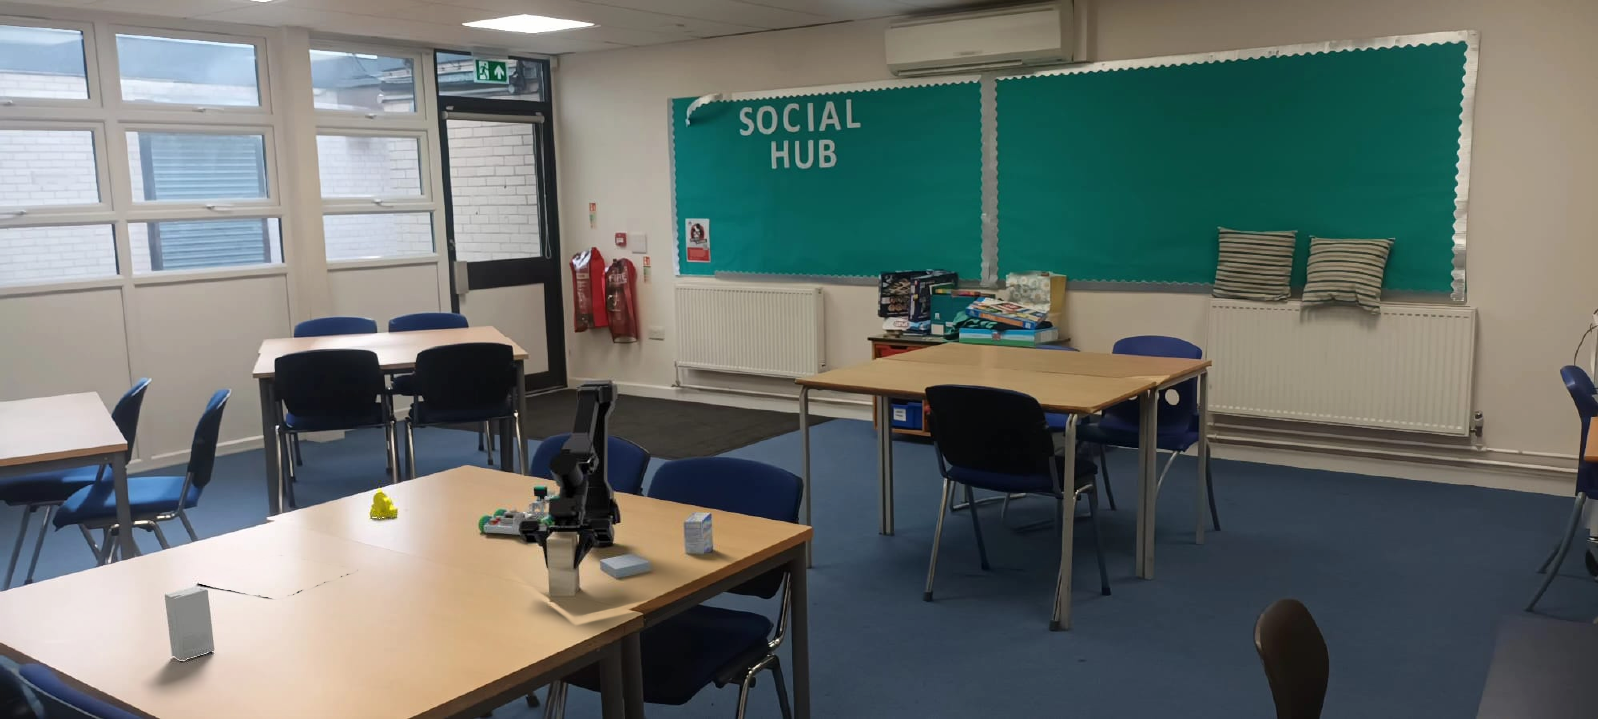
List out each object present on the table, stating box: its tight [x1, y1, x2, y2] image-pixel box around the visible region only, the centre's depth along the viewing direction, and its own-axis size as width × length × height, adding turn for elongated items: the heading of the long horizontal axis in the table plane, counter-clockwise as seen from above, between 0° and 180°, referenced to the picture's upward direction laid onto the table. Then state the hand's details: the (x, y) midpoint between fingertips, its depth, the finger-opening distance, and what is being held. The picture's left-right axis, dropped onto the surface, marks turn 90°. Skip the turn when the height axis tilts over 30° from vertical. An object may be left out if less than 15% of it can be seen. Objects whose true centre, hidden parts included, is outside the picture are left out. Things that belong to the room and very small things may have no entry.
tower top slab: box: [599, 552, 651, 579], centre depth 245 cm, size 8×8×2 cm
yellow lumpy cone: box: [369, 487, 399, 518], centre depth 300 cm, size 6×8×8 cm
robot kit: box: [478, 485, 559, 536], centre depth 287 cm, size 19×25×9 cm
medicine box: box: [683, 512, 714, 555], centre depth 259 cm, size 8×4×9 cm, turn 168°
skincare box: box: [164, 585, 215, 660], centre depth 206 cm, size 6×4×12 cm
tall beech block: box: [547, 532, 581, 603], centre depth 231 cm, size 5×5×13 cm
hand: (561, 568), depth 230 cm, fingers closed on tall beech block, 5 cm apart
